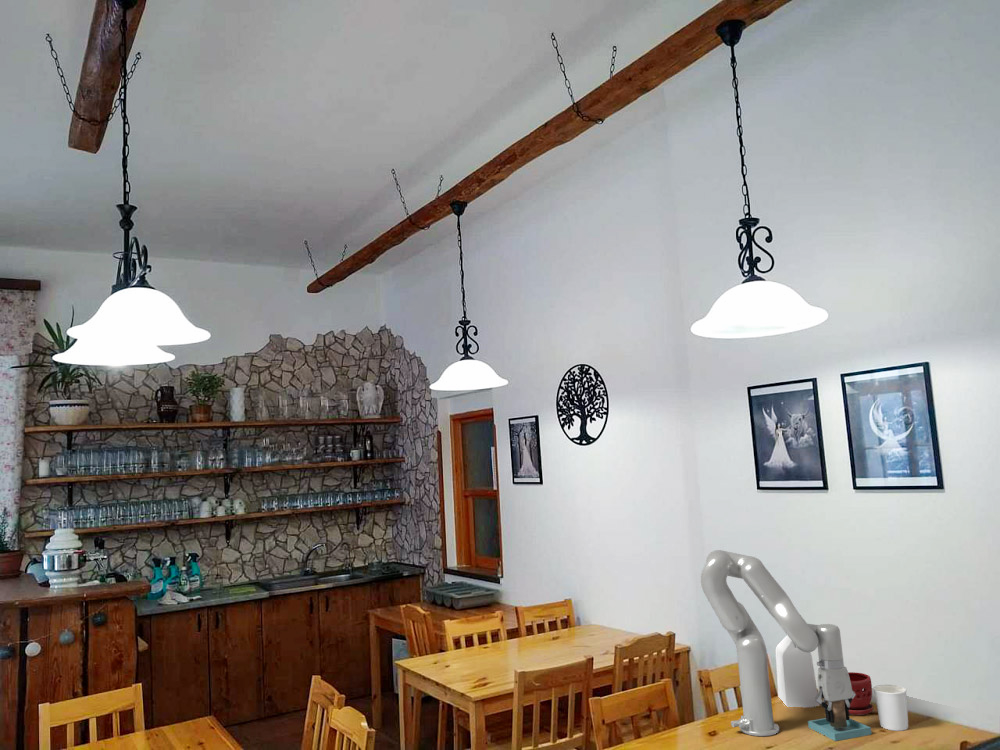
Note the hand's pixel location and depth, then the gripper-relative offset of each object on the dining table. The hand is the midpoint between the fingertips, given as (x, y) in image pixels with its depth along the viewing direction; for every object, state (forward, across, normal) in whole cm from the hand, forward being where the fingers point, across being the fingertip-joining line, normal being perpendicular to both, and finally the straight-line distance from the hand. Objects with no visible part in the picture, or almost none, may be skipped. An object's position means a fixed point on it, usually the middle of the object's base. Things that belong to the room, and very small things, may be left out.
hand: (837, 719), depth 256 cm
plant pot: (+4, +17, +14) cm, 22 cm away
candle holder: (+4, +18, -4) cm, 19 cm away
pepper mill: (+2, 0, 0) cm, 2 cm away
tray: (+4, 0, 0) cm, 4 cm away
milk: (+4, +7, +31) cm, 32 cm away
